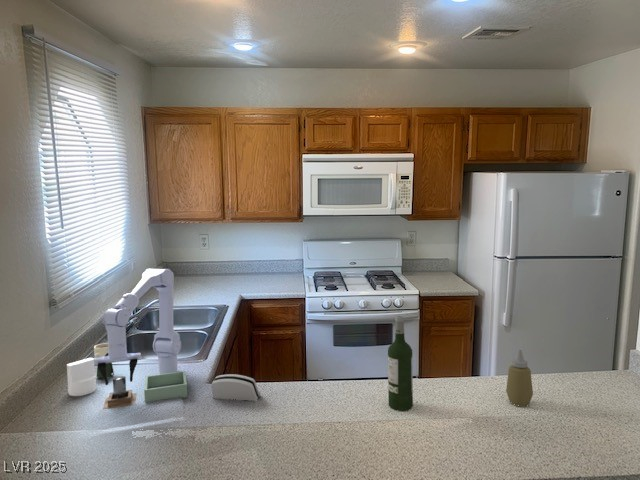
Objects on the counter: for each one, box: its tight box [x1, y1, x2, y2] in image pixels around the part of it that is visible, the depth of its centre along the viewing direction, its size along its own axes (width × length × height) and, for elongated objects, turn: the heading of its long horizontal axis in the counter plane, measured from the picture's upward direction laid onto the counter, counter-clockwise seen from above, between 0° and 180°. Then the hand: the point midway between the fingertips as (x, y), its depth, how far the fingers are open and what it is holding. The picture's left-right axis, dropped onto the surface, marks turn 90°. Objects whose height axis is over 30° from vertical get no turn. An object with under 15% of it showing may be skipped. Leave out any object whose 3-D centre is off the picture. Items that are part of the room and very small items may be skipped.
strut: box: [112, 375, 127, 399], centre depth 155 cm, size 4×4×8 cm
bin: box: [143, 370, 188, 403], centre depth 163 cm, size 14×14×5 cm
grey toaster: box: [211, 373, 261, 402], centre depth 157 cm, size 17×5×10 cm, turn 78°
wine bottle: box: [387, 315, 414, 412], centre depth 147 cm, size 8×8×30 cm
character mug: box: [93, 342, 115, 379], centre depth 180 cm, size 11×7×13 cm, turn 172°
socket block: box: [102, 389, 138, 410], centre depth 155 cm, size 10×10×3 cm
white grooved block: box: [66, 357, 97, 397], centre depth 164 cm, size 9×9×12 cm
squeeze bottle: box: [505, 349, 534, 407], centre depth 147 cm, size 8×8×18 cm
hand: (119, 382), depth 154 cm, fingers open, 7 cm apart
